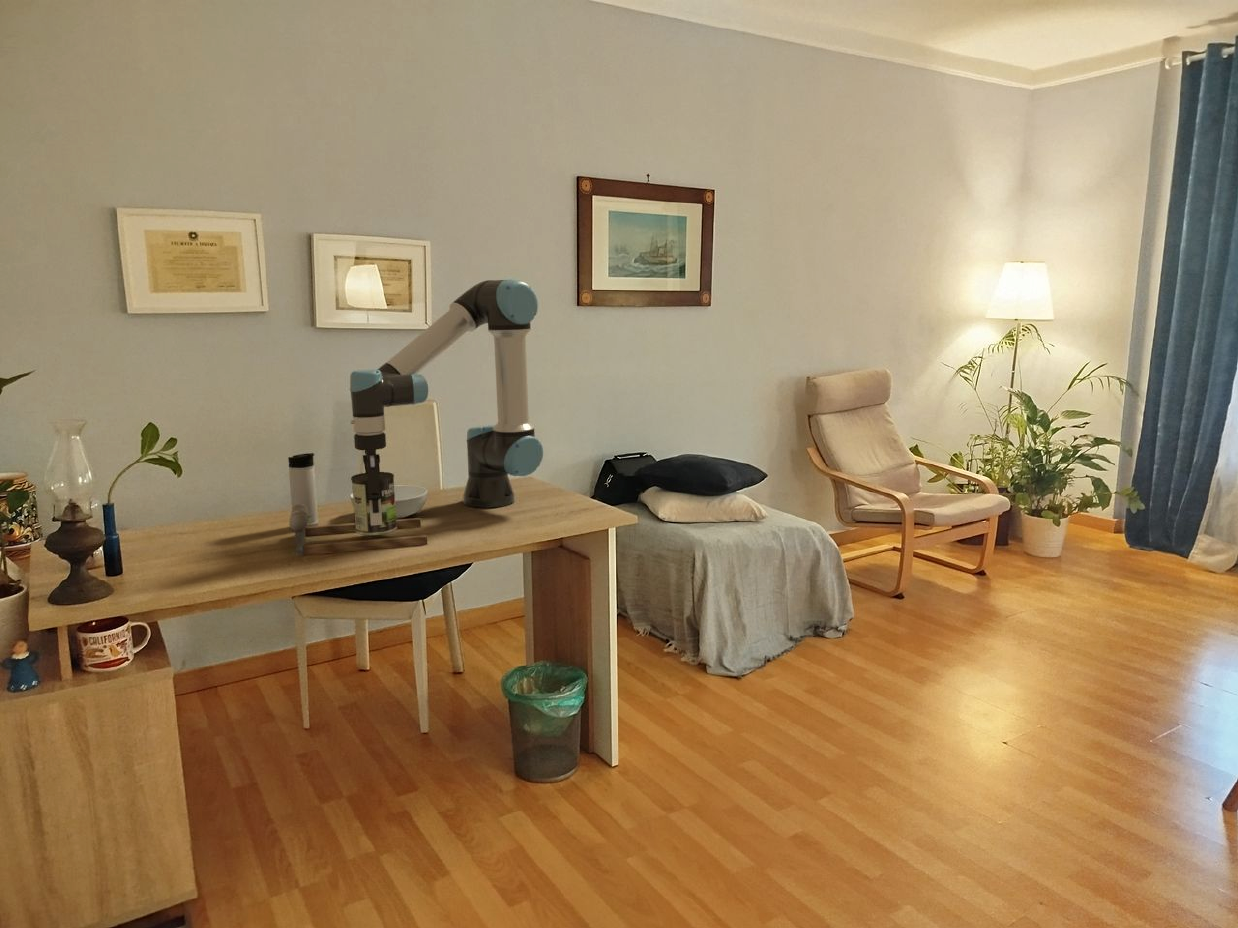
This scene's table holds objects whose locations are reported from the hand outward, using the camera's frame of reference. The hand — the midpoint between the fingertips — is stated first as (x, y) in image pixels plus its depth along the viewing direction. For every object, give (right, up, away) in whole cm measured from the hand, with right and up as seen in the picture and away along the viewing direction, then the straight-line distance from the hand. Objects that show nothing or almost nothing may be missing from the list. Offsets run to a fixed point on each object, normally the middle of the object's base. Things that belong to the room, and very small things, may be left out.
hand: (375, 519), depth 216 cm
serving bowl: (-2, -1, +23) cm, 23 cm away
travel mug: (-22, -3, +11) cm, 25 cm away
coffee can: (0, -3, +1) cm, 3 cm away
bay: (-3, -5, 0) cm, 6 cm away
